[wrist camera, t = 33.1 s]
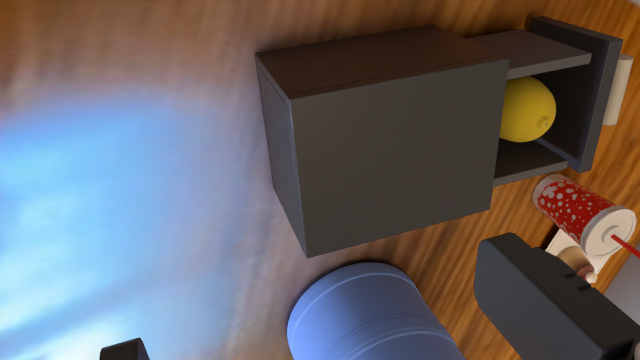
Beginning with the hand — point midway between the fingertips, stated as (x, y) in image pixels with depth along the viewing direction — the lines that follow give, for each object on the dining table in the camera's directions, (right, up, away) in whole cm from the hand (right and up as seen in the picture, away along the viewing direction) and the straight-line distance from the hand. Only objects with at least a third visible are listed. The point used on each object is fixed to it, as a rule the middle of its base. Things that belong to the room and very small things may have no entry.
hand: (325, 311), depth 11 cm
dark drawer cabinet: (+3, +9, +32) cm, 34 cm away
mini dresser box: (+16, +12, +34) cm, 40 cm away
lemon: (+15, +11, +33) cm, 38 cm away
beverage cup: (+26, +2, +46) cm, 53 cm away
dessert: (+32, -7, +53) cm, 62 cm away
